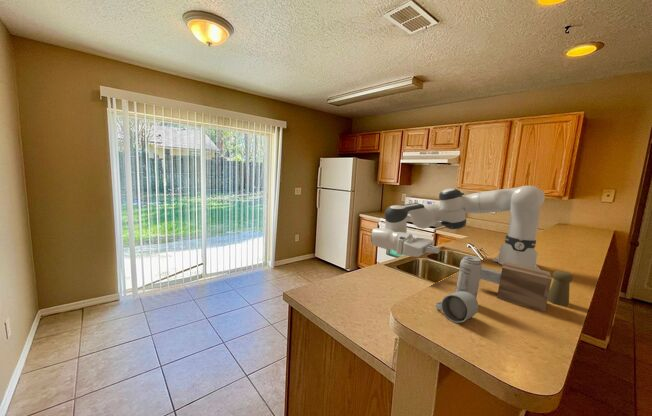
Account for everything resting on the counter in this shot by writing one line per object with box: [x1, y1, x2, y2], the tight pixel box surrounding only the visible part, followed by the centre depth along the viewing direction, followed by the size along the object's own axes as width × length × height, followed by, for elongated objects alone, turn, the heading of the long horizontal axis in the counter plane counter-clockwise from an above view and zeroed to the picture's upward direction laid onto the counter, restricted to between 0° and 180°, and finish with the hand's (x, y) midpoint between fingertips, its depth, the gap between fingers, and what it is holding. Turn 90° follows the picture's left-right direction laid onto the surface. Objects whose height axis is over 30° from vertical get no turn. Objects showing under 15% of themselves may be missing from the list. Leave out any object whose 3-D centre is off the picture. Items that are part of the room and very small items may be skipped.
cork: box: [547, 269, 574, 307], centre depth 93 cm, size 6×6×11 cm
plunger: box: [480, 266, 502, 285], centre depth 97 cm, size 5×13×5 cm, turn 53°
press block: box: [496, 262, 553, 313], centre depth 92 cm, size 9×13×11 cm
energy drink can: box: [455, 255, 483, 299], centre depth 86 cm, size 6×6×15 cm
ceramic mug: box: [435, 291, 479, 324], centre depth 79 cm, size 11×8×8 cm
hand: (439, 250), depth 107 cm, fingers closed
